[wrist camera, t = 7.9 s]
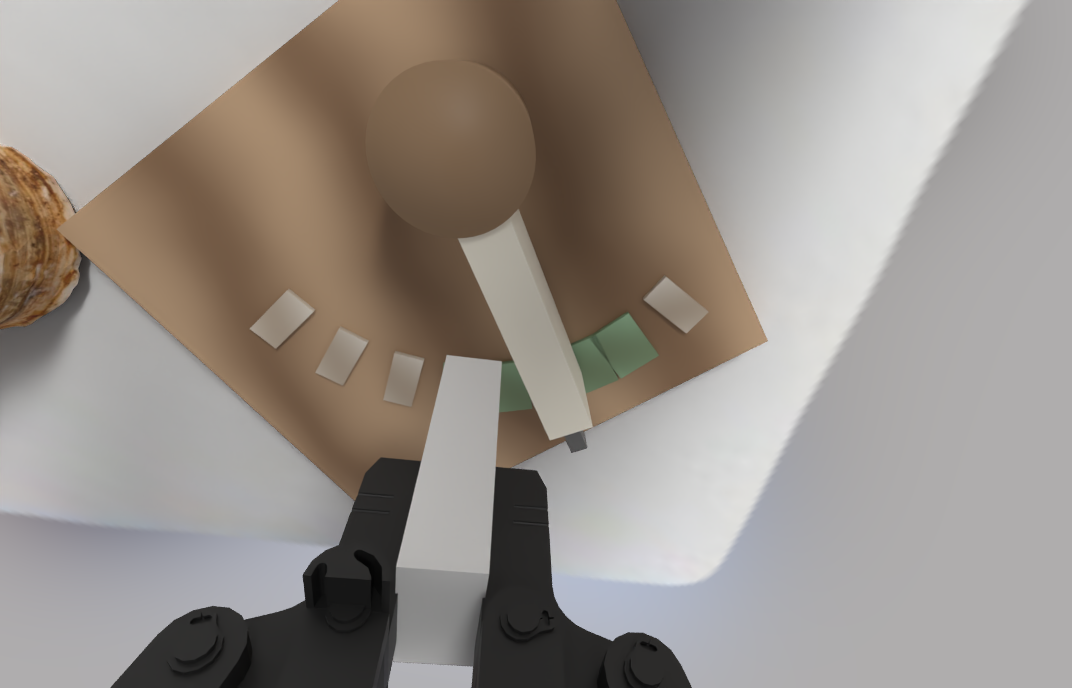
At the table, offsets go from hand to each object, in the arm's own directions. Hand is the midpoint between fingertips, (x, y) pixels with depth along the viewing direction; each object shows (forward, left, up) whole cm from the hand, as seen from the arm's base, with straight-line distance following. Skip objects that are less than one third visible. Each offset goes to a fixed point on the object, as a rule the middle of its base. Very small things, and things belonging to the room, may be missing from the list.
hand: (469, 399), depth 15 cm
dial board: (+1, -1, -8) cm, 8 cm away
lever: (-2, -1, -6) cm, 7 cm away
